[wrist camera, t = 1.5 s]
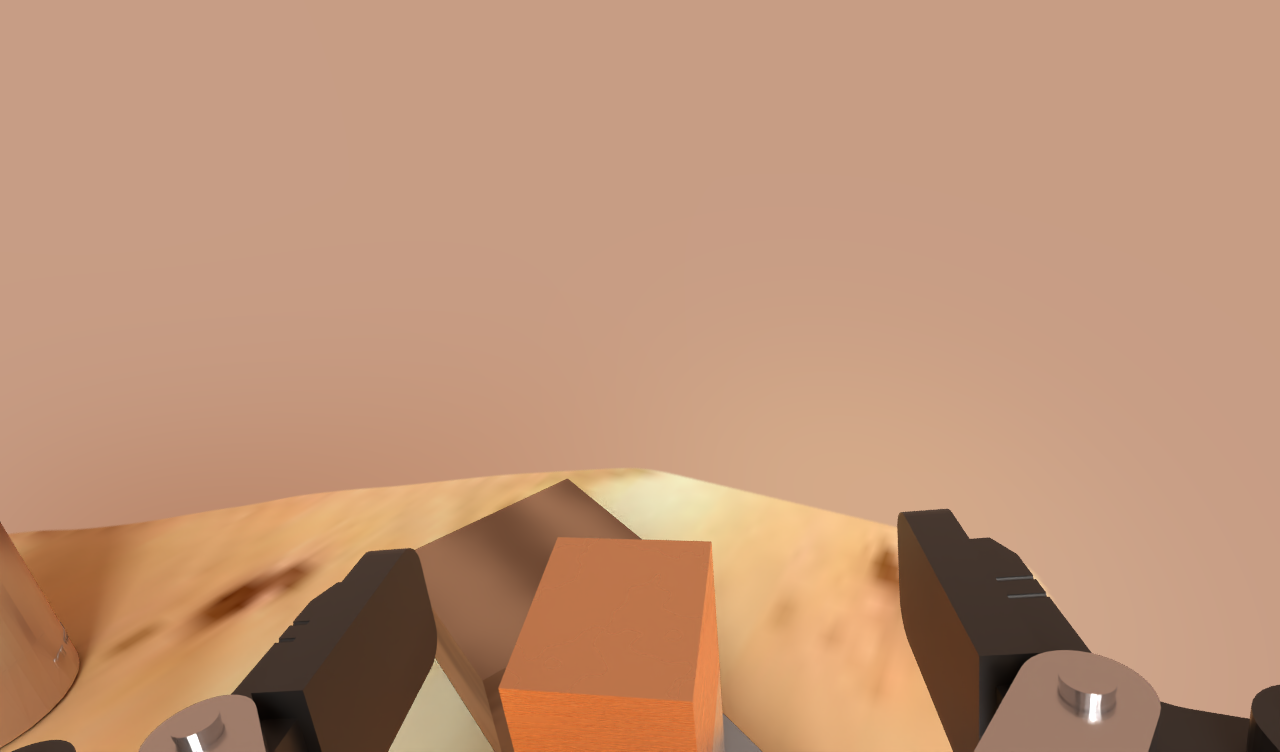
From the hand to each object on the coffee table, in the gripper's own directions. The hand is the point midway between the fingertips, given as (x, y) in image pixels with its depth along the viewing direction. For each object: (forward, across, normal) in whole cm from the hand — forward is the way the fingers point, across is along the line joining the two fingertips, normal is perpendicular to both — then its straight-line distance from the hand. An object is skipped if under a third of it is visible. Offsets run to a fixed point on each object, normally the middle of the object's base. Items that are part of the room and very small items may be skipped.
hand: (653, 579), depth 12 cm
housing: (+9, +3, +16) cm, 19 cm away
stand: (+25, +10, +19) cm, 33 cm away
